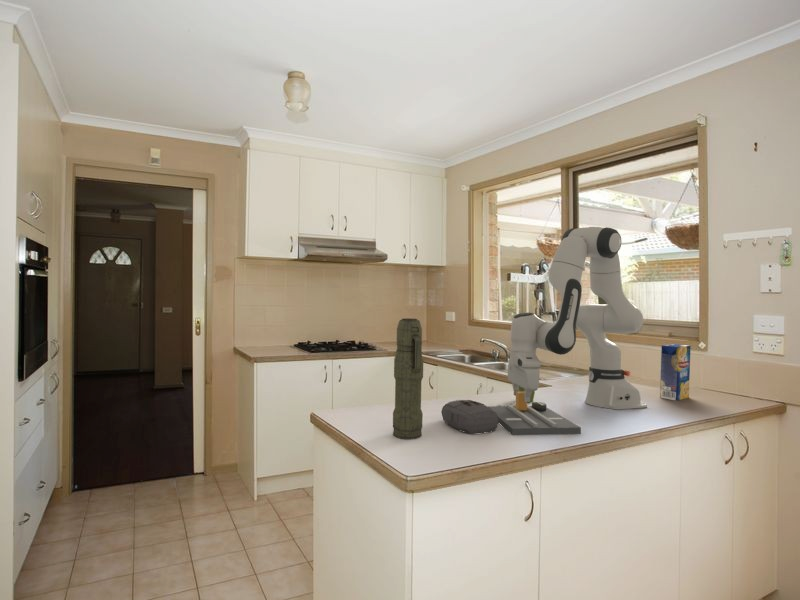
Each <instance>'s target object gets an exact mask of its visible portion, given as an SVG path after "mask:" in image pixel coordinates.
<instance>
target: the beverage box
mask: <svg viewBox="0 0 800 600" xmlns="http://www.w3.org/2000/svg"><path fill="white" fill-rule="evenodd" d="M691 348H692V347H691V345H689V344H688V345H686V344H676V343H671V344H663V345H661V352H660V353H661V355H660V356H661V357H660V379H659V380H660V381H659V383H660V384H659V385H660V387H659V398H660V399H666V400H671V401H676V402H677V401H681V400H684V399H688V398H690V378H691V377H690V369H691Z"/></svg>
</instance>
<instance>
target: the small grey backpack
mask: <svg viewBox="0 0 800 600" xmlns="http://www.w3.org/2000/svg"><path fill="white" fill-rule="evenodd" d="M441 417H442V420H443V421H444V422H446V424H448V425H449V426H450V427H452V428H453V427H454V428H453V429H455V428H456V430H457V429H458V430H457V431H460V430H461V431H460V432H463V431H464V433H468V434H473V433H481V434H485V433H484V432H488V433H492V432H495V431H496V429H497V428H498V426H499V423H498V422H499V420H498V415H497V413H496V412H495V411H493V410H492V409H491V408H489V407H487V405H485V404H484V403H481V402H479V401H475V400H471V399H457V400H453V401H449V402H447V403H446V404H444V405H443V406H442V408H441ZM491 431H492V432H491ZM473 435H474V434H473Z"/></svg>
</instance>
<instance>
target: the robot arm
mask: <svg viewBox="0 0 800 600" xmlns="http://www.w3.org/2000/svg"><path fill="white" fill-rule="evenodd" d="M621 247H622V236H621V234H620V232H619V231H618V230H617V229H615V228H612V227H600V226H587V227H586V226H585V227H573V228H569V229H567V230H566V231H565V232H564V233H563V235H562V237H561V240H560V243H559V244H558V246H557V249H556V251H555V253H554V255H553V258H552V260H551V264H550V268H549V271H548V281H549V283H550V285H551V286H552V287H553V288H554V289H555V290H556V291H558V292H559V294H560V295H559V296H560V299H561V300H560V304H559V309H558V315H557V319H556V321H555V323H552V322H547V321H545V320H544V319H542V318H540V317H538V316H537V315H536V313H533V312H522V313H521V312H520V313H517V314H515V315H514V316H513V318H512V319H511V320H512V321H511V325H510V326H511V327H510V342H511V344H510V345H511V346H510V347H509V362H508V366H507V367H508V368H507V379H508V380H507V381H509V382H511V384H512V391H513V396H515V397H516V392H520V391H519V386H520V387H522V388H524V389H525V396H524V399H523V400H524V401H525V402H527V403H528V402H530V396H531V394H532V391H535V392H536V391H538V389H539V386H540V373H541V372H540V369H539V368H541V366H542V363H541V360H540V359H539V358H538V355H537V349H540V350H544V351H548V352H552V353H553V354H556V355H566V354H568V353H570V352H571V351H572V350H573V348H574V347H575V345H576V341H577V330H578V331H579V332H581V333H582V334H583V335H584V337H585V339H586V340H587V343H588V346H589V350H590V351H589V354H590V355H589V357H590V361H589V362H590V364H589V367H588V387H587V388H588V390H587V393H586V397H585V399H584V403H586V404H587V405H591V406H594V407H600V408H607V409H613V410H628V409H642V408H643V409H645V408H647V407H648V405H647V403H646V402H645V401H642V400H641V393H640V390H639V389H638V388H637V387H636V386H634V385H633V384H632V383H631V382H630V381H629V380H627V379H626V377H630V376H631V371H630V370H627V369H625V370H624V369H622V368H621V367H622V350H621V348H620V346H619V345H618V344H616V343H614V342H612V341H611V340H609V339H608V338H607V334H620V335H623V334H625V335H626V334H627V335H628V334H634V333H635V334H636V333H637V332H639V331H640V330H641V329H642V327H643V325H644V316H643V313H642V311H641V310H640V309H639V308H638V307H637V306H635V305H634V304H633V303H632V302H631V301H630V300H629V299H628V297H627V296H626V294H625V292H624V289H623V283H622V268H621V267H622V266H621V257H620V252H619V251H620V250H621ZM587 258H589V282H590V283H589V285H590V290H591V293H593V294H594V295H595V296H596V297H598V298H601V299H602V300H604V302H605V303H606V304H594V303H590V304H582V305H581V298H582V293H583V292H582V290H583V289H582V284H581V281H582V276H583V272H584V269H585V265H586V260H587Z"/></svg>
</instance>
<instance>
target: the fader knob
mask: <svg viewBox="0 0 800 600" xmlns="http://www.w3.org/2000/svg"><path fill="white" fill-rule="evenodd" d="M524 396H525V392H524V391H523V392H516V396H515V406H516V409H517V410H519V411H521V410H527V405H528V402H525V401H524V400H523V399H524Z"/></svg>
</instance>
